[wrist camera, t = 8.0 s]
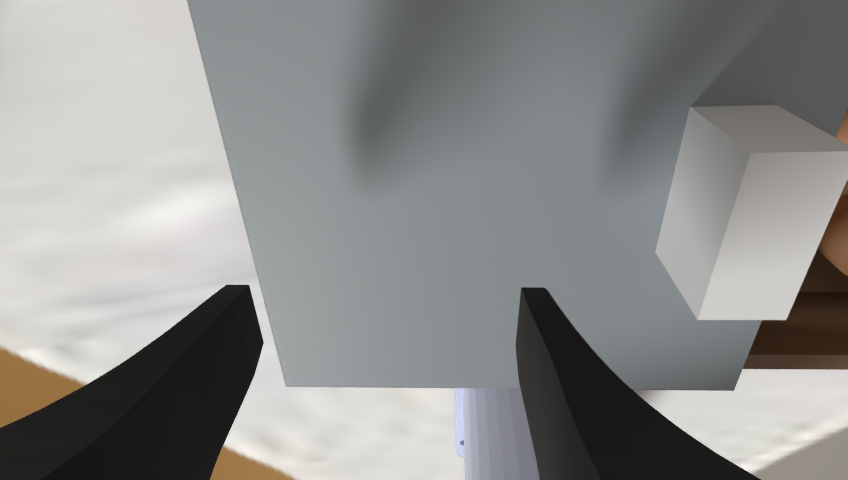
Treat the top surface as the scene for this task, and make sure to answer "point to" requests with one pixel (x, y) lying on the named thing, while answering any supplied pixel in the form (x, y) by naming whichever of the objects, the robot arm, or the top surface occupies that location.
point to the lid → (527, 177)
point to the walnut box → (813, 305)
